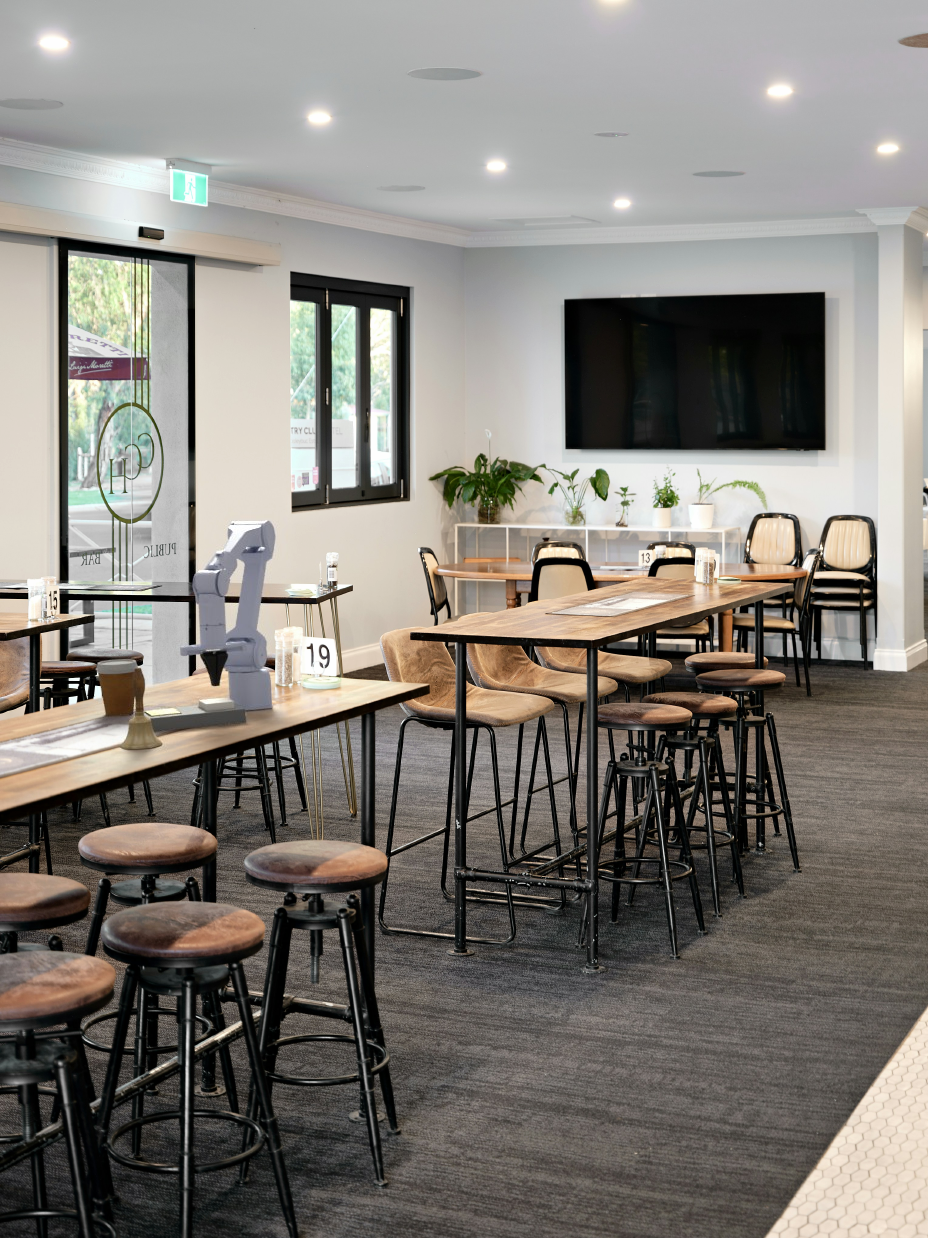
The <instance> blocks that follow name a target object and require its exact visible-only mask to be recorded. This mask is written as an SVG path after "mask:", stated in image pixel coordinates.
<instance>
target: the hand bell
mask: <svg viewBox="0 0 928 1238" xmlns="http://www.w3.org/2000/svg"><path fill="white" fill-rule="evenodd" d="M132 688H133V693H134V696H135V699H134V710H135V711H136V712H135V713H134V717H133V718H130V719H129V721H128V729H127V735H126V737H125V739H124V740H123V741H122V743H121V744H120V748H121V749H124V750H143V749H153V748H157V747H161V746H162V745H163V742H162V741H161V740H160V739H159V738H158V736H157V735H156V733H155V732H154V731H153V727H152V723H151V719H150V718H147V717H145V716H144V710H145V709H144V695H145V691H146V679H145V676H144V673H143V669H142V667H138V668H135V671H134V675H133V679H132Z"/></svg>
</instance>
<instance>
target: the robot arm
mask: <svg viewBox="0 0 928 1238" xmlns="http://www.w3.org/2000/svg"><path fill="white" fill-rule="evenodd" d="M275 543H276V531H275V527H274V525H273V523H272V521H270V520H265V521H264V520H261V521H260V520H259V521H237V520H233V521H231V522H230V523H229V525H228V528H227V541H226V544H225V545H224V547H223V550H216V552H215V553H214V554H213V556H212V558H211V559H210V560H209V562H208V563H207V565H206V566H205V568H204V569H203V570H201V569H200V570H199V571H198V572H196V573H195V574H194V576H193V579H192V591H193V594H194V596H195V603H196V605H198V621H199V622H198V624H199V639H200V640H199V641H200V642H199V643H198V644H191V645H184V646H183V645H181V646H180V647H179V653H180V656H182V657H186V656H193V655H195V656H196V655H199V656H200V659H201V661H202V662H203V664H204V667H205V668H206V671H207V673H208V677H209V679H210V685H211V686H212V687H220V685H221V679H222V674H223V670H224V671H225V672H228V674H227V675H228V677H227V678H228V695H229V696H228V699H230V700H232V701H234V703H235V704H237V705H239V706H241V707H243V708H245V709H246V711H255V710H256V711H257V710H265V709H272V708H274V705H273V699H272V695H273V694H272V680H271V679H272V678H271V674H270V671H269V669H266V668H264V666H265V665H266V662H267V657H268V651H267V646H268V645H267V644H268V643H267V639H266V638H265V636H264V635H263V634H262V633H261V632H260V631H258V623H259V617H260V612H261V611H260V610H261V602H262V596H263V589H264V582H265V576H266V575H265V574H266V569H267V563H268V562H269V561H270V560H271V559H273V556H274V551H275ZM238 561H241V562H242V563H244V567H243V575H242V582H241V588H240V594H239V600H238V605H237V606H238V608H237V613H236V620H235V626H234V627H233V628H232V629H230V630H229V631H228V632H227V627H226V626H227V625H226V624H227V622H226V621H227V620H226V600H225V599H226V598H225V596H226V595H227V594H228V592H229V587H230V583H231V577H232V576H233V575H234V572H235V571H236V569H237V568H238Z"/></svg>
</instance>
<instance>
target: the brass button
mask: <svg viewBox="0 0 928 1238" xmlns="http://www.w3.org/2000/svg"><path fill="white" fill-rule="evenodd" d="M171 708H172V709H163V708H161V709H162V710H153V709H151V710H152V711H145V713H146V714H147V715H148V716H150V717H153V716H163V715H173V714H181V713H180V712H179V711H177V710H175V709H174V708H173V707H171Z"/></svg>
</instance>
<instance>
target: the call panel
mask: <svg viewBox="0 0 928 1238" xmlns="http://www.w3.org/2000/svg"><path fill="white" fill-rule="evenodd" d="M172 708H174V709H175V710H177V711H179V712H180V713H181V714H173V715H163V716H153V717H150V716H148V715H147V714H146V713H145V711H152V710H162V709H172ZM135 712H136V711H134V713H133V714H135ZM144 716H145V717H147V718H150V719H151V723H152V727H153V731H154V733H155V732H156V733H157V732H165V731H166V732H167V731H174V730H175V731H176V730H186V729H194V728H205V727H214V726H215V727H216V726H225V725H233V724H244V723H247V714H246V709H245V708H243V707H241V706H239V705H237V704H235V703H234V708H233V709H223V710H213V711H204V710H202V709H200V708H199V704H196V705H186V706H177V707H176V706H175V707H164V708H155V709H144Z"/></svg>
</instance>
